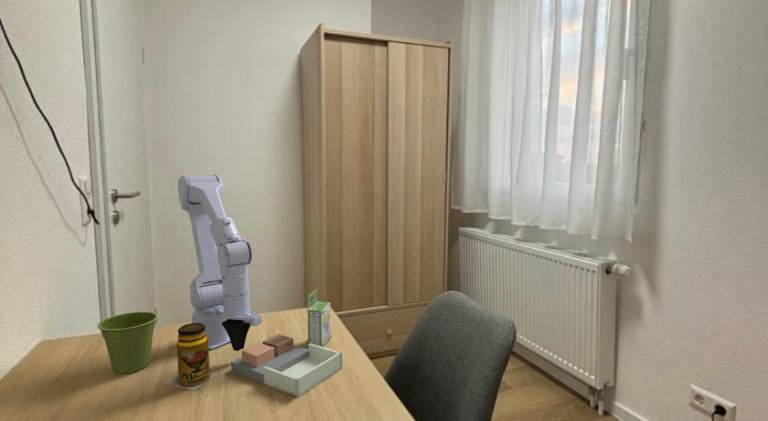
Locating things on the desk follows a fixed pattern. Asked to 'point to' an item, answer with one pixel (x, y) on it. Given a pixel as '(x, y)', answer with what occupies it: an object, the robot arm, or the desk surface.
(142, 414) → the desk surface
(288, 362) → the slate board
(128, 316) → the plant pot
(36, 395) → the desk surface
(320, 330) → the ink box
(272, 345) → the walnut tile
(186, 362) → the condiment
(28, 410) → the desk surface
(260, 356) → the terracotta tile
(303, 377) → the tray
